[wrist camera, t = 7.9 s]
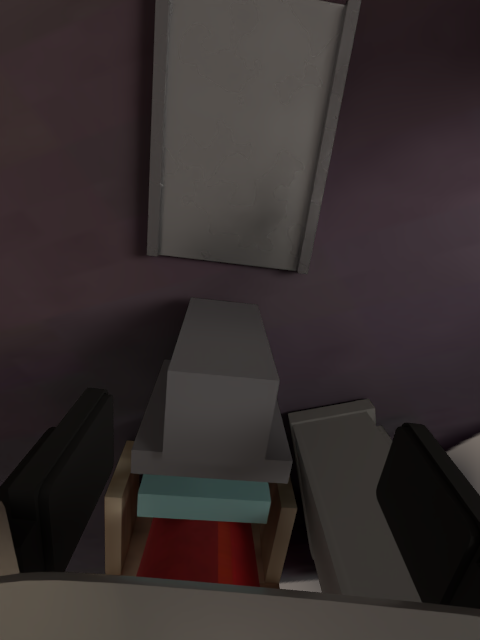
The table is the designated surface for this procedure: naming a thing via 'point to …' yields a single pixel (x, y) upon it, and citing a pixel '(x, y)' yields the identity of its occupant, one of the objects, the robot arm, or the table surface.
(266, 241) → the track
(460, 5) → the table surface
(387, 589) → the cassette tape recorder
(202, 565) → the paper cup
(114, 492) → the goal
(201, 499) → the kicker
